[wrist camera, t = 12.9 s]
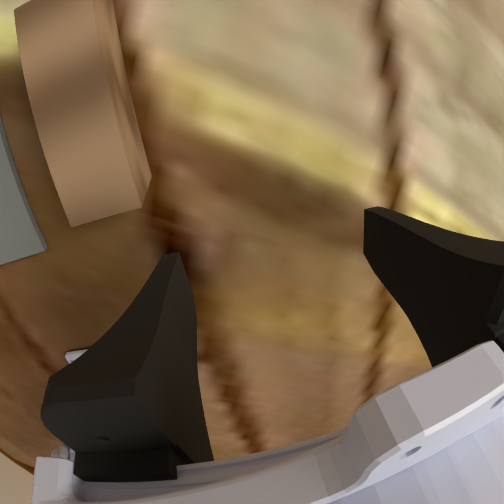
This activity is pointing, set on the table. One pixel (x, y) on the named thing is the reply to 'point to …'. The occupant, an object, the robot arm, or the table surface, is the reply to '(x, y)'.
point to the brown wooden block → (83, 106)
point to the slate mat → (15, 212)
